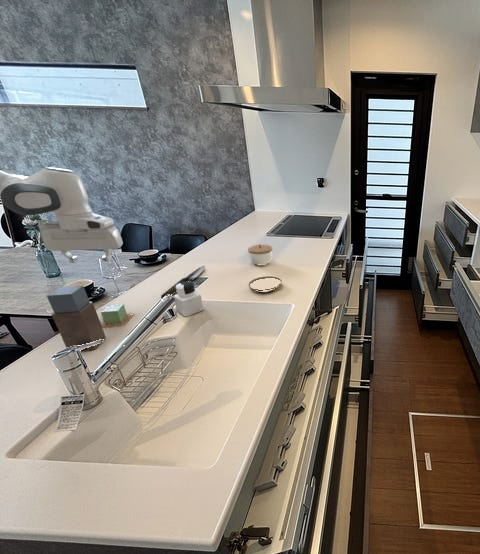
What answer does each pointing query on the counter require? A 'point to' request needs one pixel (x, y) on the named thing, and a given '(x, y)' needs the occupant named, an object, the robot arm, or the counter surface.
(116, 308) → the green box
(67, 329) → the storage box
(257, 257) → the lidded bowl
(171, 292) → the kitchen knife
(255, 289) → the plant saucer
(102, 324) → the cork mat
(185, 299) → the medicine bottle
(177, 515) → the counter surface
